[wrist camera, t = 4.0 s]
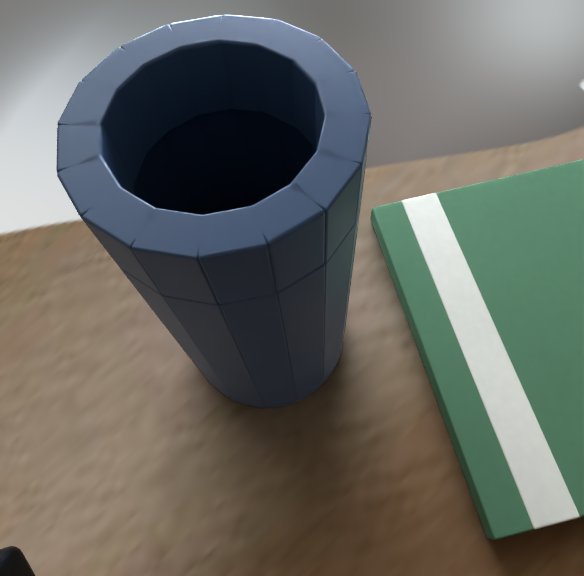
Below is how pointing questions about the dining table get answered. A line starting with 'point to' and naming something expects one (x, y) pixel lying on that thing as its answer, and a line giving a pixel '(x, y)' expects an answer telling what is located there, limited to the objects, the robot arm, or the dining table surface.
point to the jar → (228, 193)
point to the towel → (501, 334)
